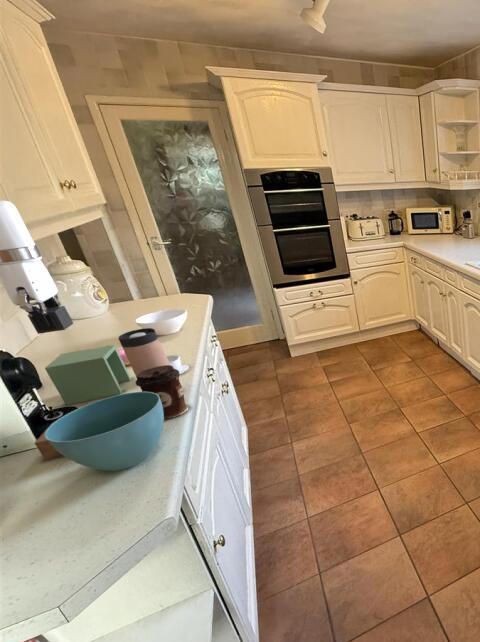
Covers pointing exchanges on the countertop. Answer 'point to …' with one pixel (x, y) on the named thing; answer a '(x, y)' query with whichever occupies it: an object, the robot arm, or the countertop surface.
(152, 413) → the blue dish
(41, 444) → the low shelf
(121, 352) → the doughnut
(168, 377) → the coffee cup
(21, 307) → the robot arm
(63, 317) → the black block
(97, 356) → the high shelf
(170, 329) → the bowl
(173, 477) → the countertop surface
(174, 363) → the teacup
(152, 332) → the travel mug
